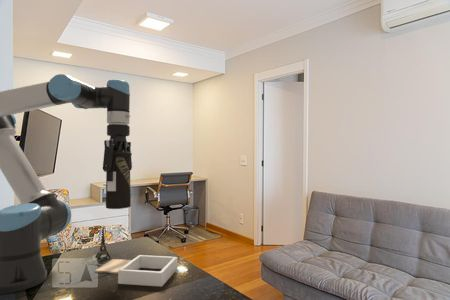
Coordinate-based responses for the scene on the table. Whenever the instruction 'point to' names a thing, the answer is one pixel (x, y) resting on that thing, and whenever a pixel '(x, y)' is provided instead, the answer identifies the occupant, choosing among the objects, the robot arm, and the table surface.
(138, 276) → the frame
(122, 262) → the cork mat
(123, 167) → the container
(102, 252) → the eiffel tower figurine
